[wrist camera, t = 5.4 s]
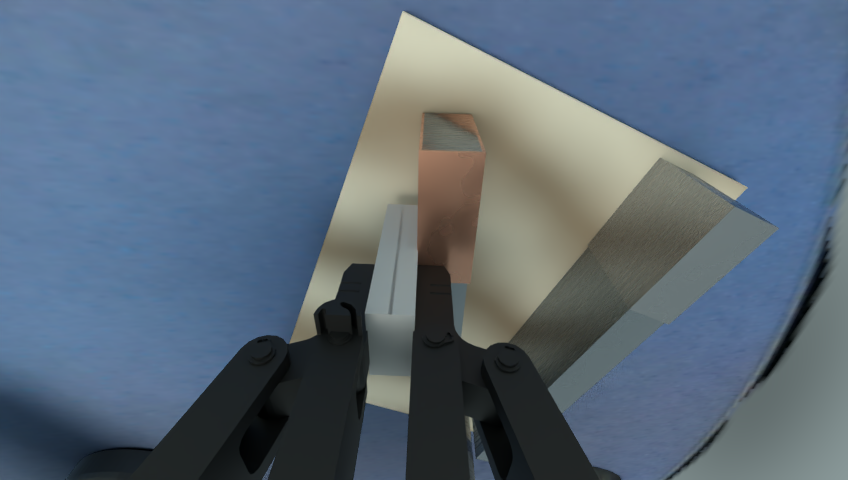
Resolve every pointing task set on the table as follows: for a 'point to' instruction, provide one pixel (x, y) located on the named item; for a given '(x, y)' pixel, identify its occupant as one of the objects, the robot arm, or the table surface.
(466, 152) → the tong arm
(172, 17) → the table surface
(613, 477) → the log
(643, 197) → the tongs fixed
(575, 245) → the board
